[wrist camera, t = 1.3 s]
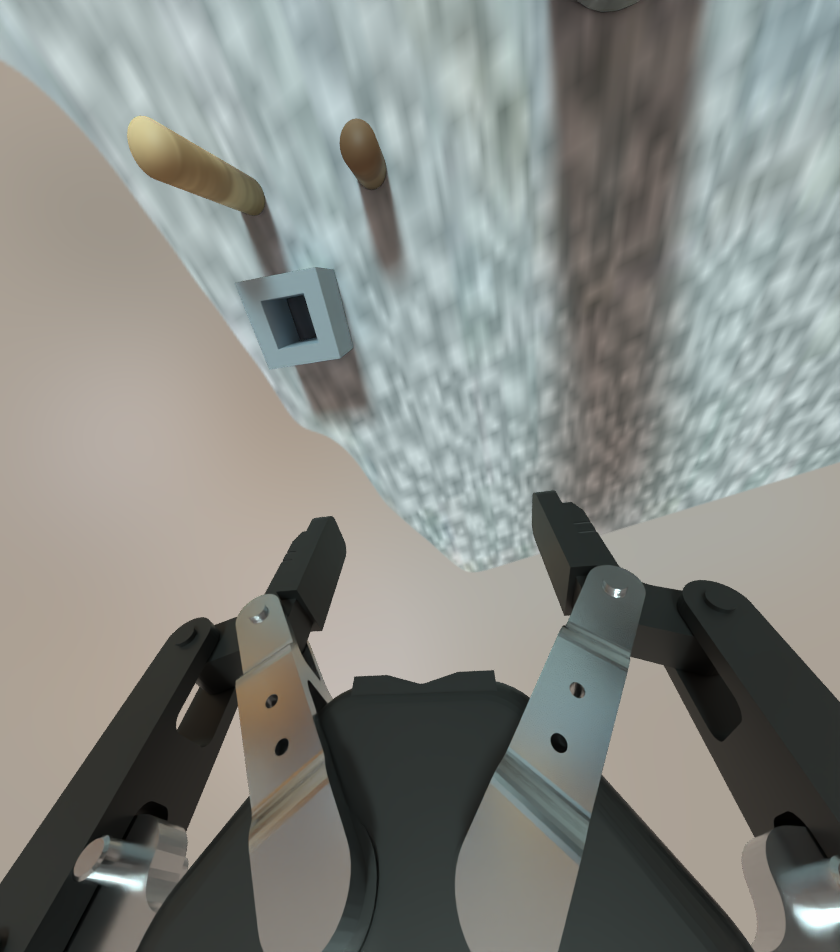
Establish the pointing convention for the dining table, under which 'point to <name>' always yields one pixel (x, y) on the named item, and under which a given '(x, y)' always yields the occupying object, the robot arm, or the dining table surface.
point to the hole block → (277, 324)
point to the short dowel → (363, 153)
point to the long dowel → (191, 167)
